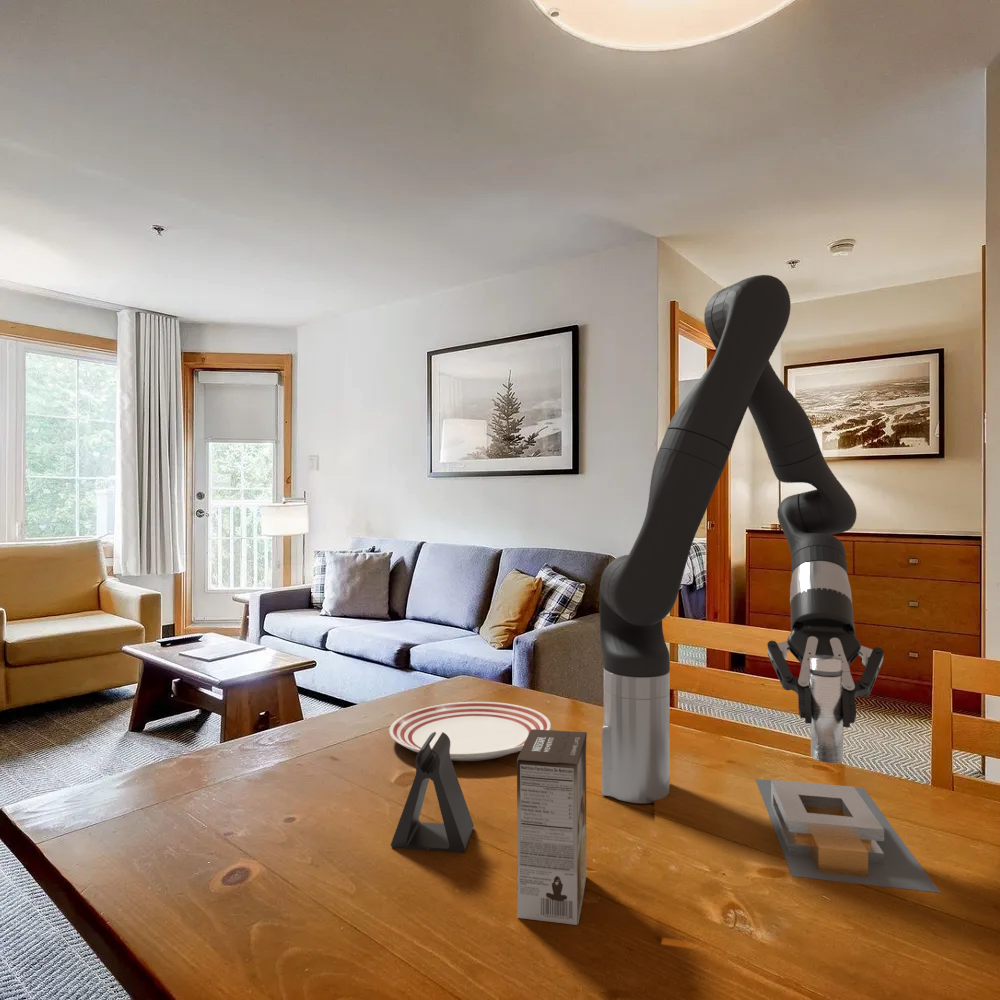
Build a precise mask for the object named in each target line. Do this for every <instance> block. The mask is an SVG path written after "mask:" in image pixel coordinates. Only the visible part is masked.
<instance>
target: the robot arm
mask: <svg viewBox="0 0 1000 1000" xmlns="http://www.w3.org/2000/svg"><path fill="white" fill-rule="evenodd" d="M791 304H792V303H791V297H790V293H789V290H788V288H787V286H786V285H785V284H784V283H783V281H782V280H781V279H780V278H778V277H775V276H773V275H769V274H760V275H755V276H750V277H747V278H744V279H742V280H739V281H738V282H736V283H734V284H731V285H729V286H727V287H725V288H722V289H720V290H719V291H717V292H715V294H714V295H712V296H711V297H710V299H709V300H708V301H707V304H706V307H705V309H704V314H703V317H704V318H703V319H704V326H705V329H706V333H707V334H708V336H709V339H710V340H711V343H712V344H713V347H714V349H715V354H714V356H713V358H712V359H711V362H710V363H709V365H708V367H707V369H706V370H705V372H704V373H703V375H702V376H701V377H700V379H699V380H698V381H697V383H696V384H695V385H694V387H692V389H691V390H690V392H689V393H688V394H687V395H686V397H685V398H684V400H683V401H682V403H681V404H680V405H679V406H678V407H677V410H676V411H675V413H674V415H672V418H671V420H670V422H669V424H668V426H667V429H666V431H665V434H664V436H663V439H662V441H661V443H660V446H659V449H658V451H657V454H656V457H655V460H654V463H653V468H652V473H651V478H650V485H649V494H648V496H649V497H648V501H647V509H646V513H645V516H644V517H645V518H644V520H643V523H642V526H641V528H640V531H639V532H638V534H637V537H636V540H635V541H634V543H633V546H632V548H631V550H630V552H629V554H624V555H620V556H618V557H616V558H615V559H613V560H612V561H611V562H609V564H607V566H606V567H605V569H604V571H603V572H602V575H601V578H600V583H599V636H600V638H599V639H600V645H601V646H600V647H601V651H602V656H603V722H602V728H601V737H602V738H601V753H602V754H601V777H602V778H601V795H602V796H607V797H611V798H614V799H616V800H618V801H622V802H627V803H631V804H653V803H655V801H658V800H662V799H664V798H665V797H667V796H668V795H669V794H670V783H671V780H670V779H671V777H670V775H671V774H670V755H671V754H670V749H671V747H670V744H671V743H670V731H671V730H670V724H671V723H670V719H671V718H670V712H671V710H670V707H671V705H670V703H671V702H670V696H671V695H670V688H671V687H670V680H671V679H670V674H671V673H670V672H671V671H670V669H671V668H670V665H671V664H670V662H671V661H670V660H671V658H670V652H669V649H668V646H667V644H666V641H665V636H664V630H663V620H664V619H665V618H666V617H667V616H668V615H669V614H670V613H671V611H672V609H673V608H674V605H675V604H676V601H677V598H678V595H679V591H680V589H681V584H682V580H683V577H684V573H685V570H686V566H687V562H688V558H689V556H690V552H691V549H692V545H693V543H694V539H695V537H696V534H697V531H698V530H699V527H700V525H701V523H702V521H703V519H704V517H705V514H706V511H707V509H708V507H709V504H710V502H711V500H712V497H713V495H714V491H715V489H716V487H717V486H718V482H719V481H720V478H721V476H722V474H723V471H724V469H725V467H726V464H727V461H728V459H729V456H730V453H731V452H732V448H733V447H734V442H735V440H736V436H737V434H738V432H739V429H740V427H741V424H742V422H743V419H744V417H745V414H746V412H747V410H749V412H750V415H751V417H752V419H753V420H754V423H755V425H756V427H757V430H758V433H759V435H760V438H761V441H762V443H763V446H764V449H765V452H766V454H767V455H766V456H767V458H768V460H769V463H770V465H771V468H772V471H773V473H774V475H775V476H774V477H776V479H777V480H778V481H779V482H781V483H787V484H793V483H794V484H795V483H800V484H803V483H804V484H809V485H811V486H812V487H814V488H815V489H813V490H810V491H809V490H808V491H804V492H801V493H796V494H792V495H789V496H787V497H785V498H784V499H783V500H782V501H781V502H780V504H779V506H778V509H777V519H778V522H779V525H780V527H781V530H782V531H783V534H784V535H785V538H786V541H787V543H788V547H789V551H790V556H791V557H790V558H791V581H790V586H789V587H790V589H789V592H790V593H789V597H790V598H789V603H790V634H789V636H788V637H787V638H786V639H787V640H785V641H781V642H777V641H775V640H769V641H768V642H767V643H766V645H767V657H768V659H769V660H770V662H771V665H772V668H773V669H774V671H775V673H776V675H777V678H778V680H779V682H780V684H781V686H782V688H783V689H784V690H785V691H793V692H795V693H796V694H797V698H798V699H797V701H798V703H797V705H798V708H797V709H798V716H799V718H800V719H804V723H805V724H810V725H811V724H812V710H811V689H810V672H809V666H810V656H812V655H830V656H835V657H839V658H841V659H842V722H843V728H850V727H851V724H855V722H856V720H857V719H856V717H857V704H856V698H857V697H863V698H868V697H869V696H870V694H871V693H872V690H873V687H874V684H875V682H876V680H877V677H878V675H879V672H880V670H881V667H882V665H883V661H884V654H885V650H884V649H883V648H881V647H878V646H877V647H874V648H873V649H872V648H870V647H867V646H864V645H861V641H860V640H859V638H858V637H857V636H856V628H855V621H854V620H855V619H854V610H853V609H854V607H853V595H852V590H851V585H850V581H849V576H848V566H847V555H846V549H845V546H844V544H843V542H842V541H841V540H840V539H839V538H838V537H835V536H834V535H837V534H841V533H845V532H848V531H850V530H851V529H852V528H853V527H854V525H855V523H856V521H857V516H858V515H857V508H856V505H855V502H854V501H853V499H852V497H851V495H850V494H849V492H848V491H847V490H846V489H845V488H844V486H843V485H842V483H841V482H840V481H839V480H838V478H837V477H836V476H835V474H834V473H833V471H832V470H831V468H830V467H829V465H828V463H827V461H826V459H825V457H824V455H823V453H822V450H821V448H820V444H819V442H818V439H817V435H816V432H815V430H814V427H813V425H812V423H811V420H810V418H809V416H808V414H807V413H806V411H805V410H804V408H803V407H802V406H801V404H800V403H799V401H798V400H797V398H796V397H795V396H794V395H793V393H791V392H790V390H789V389H788V388H787V386H785V384H784V383H783V381H782V380H781V379H780V378H779V376H778V375H777V373H776V372H775V370H774V368H773V366H772V364H771V363H770V359H771V357H772V355H773V353H774V351H775V349H776V347H777V345H778V344H779V341H780V340H781V338H782V336H783V334H784V332H785V330H786V328H787V325H788V321H789V319H790V314H791V308H792V307H791ZM788 652H790V653H791V655H792V656H794V657H795V659H796V660H797V661H798V663H800V665H801V666H800V671H799V676H798V677H797V676H795V675H793V673H792V672H791V670H790V667H789V665H788V663H787V661H786V659H787V658H788ZM858 656H859V657H861V659H862V660H861V663H862V665H863V666H865V667H864V670H863V672H862V675H861V677H860V679H859V680H856V681H854V679H853V677H852V674H851V669H850V665H851V664H852V663H853V662H854V661H855V659H857V658H858Z"/></svg>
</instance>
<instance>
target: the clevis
mask: <svg viewBox="0 0 1000 1000" xmlns="http://www.w3.org/2000/svg"><path fill="white" fill-rule="evenodd" d="M770 780H771V811H772V814H773V816H774V819H775V821H776V824H777V826H778V829H779V832H780V834H781V837H782V839H783V842H784V844H785V847H786V849H787V852H788V855H792V856H802V857H811V858H812V859H813V861H814V863H815V865H816V867H817V870H818V872H825V873H834V874H843V875H852V876H862V877H868V864H877V865H884V853H883V851H882V850H881V848H880V847H879V845H878V844H877V842H876V841H875V840H877V841H884V829H883V827H882V826H881V825H880V823H879V822H878V820H877V819H876V817H875V816H874V815H873V813H872V812H871V810H870V809H869V808H868V806H867V805H866V803H865V802H864V800H863V799H862V798H861V796H860V795H859V793H858V792H857V791H856V789H855V788H854V786H851V785H850V786H849V785H836V784H828V783H827V784H826V783H814V782H802V781H801V782H800V781H792V780H791V781H790V780H779V779H770Z"/></svg>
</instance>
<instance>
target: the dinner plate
mask: <svg viewBox="0 0 1000 1000" xmlns="http://www.w3.org/2000/svg"><path fill="white" fill-rule="evenodd" d="M532 729H536V730H552V723H551V721H550V718H548V717H547V716H546V715H544V714H543V713H542V712H540V711H537V710H535V709H533V708H530V707H527V706H521V705H518V704H512V703H505V702H494V701H462V702H461V701H460V702H459V701H458V702H450V703H448V702H447V703H442V704H436V705H431V706H427V707H423V708H419V709H416V710H413V711H410V712H408V713H406V714H404V715H402V716H401V717H399V718H397V719H396V720H394V721H393V722H392V724H391V725H390V727H389V730H388V732H389V735H390V737H391V738H392V739H393V740H394V742H395V743H397V744H399V745H400V746H403V747H405V748H406V749H408V750H410V751H412V752H415V753H418V752H419V751H420V749H421V748H422V746H423V745H424V743H425V742H426V740H427V739H428V737H429V736H430V735H431V734H432V733H433V732H436V735H435V736H434V738H433V739H432V741H431V742H430V747H431V749H432V748H433V746H434V745H435V743H436V742H437V740H438V738H439V737H440V735H441V734H442V732H443V733H445V734H446V735H447V736H448V737H449V739H450V758H451V761H457V762H477V761H488V760H493V759H497V758H501V757H504V756H508V755H510V754H515V753H518V752H521V750H522V748H523V746H524V743H525V741H526V739H527V737H528V735H529V733H530V730H532Z"/></svg>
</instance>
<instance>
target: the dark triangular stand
mask: <svg viewBox="0 0 1000 1000" xmlns="http://www.w3.org/2000/svg"><path fill="white" fill-rule="evenodd" d="M435 735H436V732H433V733H432V734H431V735H430V736H429V737H428V739H427V740H426V742H425V743H424V745H423V746H422V748H421V749H420V751H419V752H417V754H416V755H415V759H414V760H415V776H414V779H413V781H412V785H411V787H410V790H409V793H408V796H407V798H406V802H405V803H404V807H403V810H402V813H401V815H400V817H399V820H398V824H397V827H396V829H395V832H394V834H393V836H392V837H393V838H392V841H391V844H390V846H391V848H392V849H399V850H400V849H403V850H415V851H427V850H428V851H430V852H431V851H432V852H440V853H441V852H442V853H455V854H457V853H458V854H463V853H465V851H466V849H467V846H468V843H469V840H470V837H471V835H472V832H473V829H474V827H475V825H474V821H473V819H472V816H471V813H470V810H469V807H468V804H467V802H466V799H465V796H464V794H463V790H462V788H461V785H460V782H459V779H458V776H457V773H456V770H455V767H454V765H453V760H451V758H450V739H449V737H448V736H447V735H446V734H445V733H443V732H442V734H441V735H440V737H439V738H438V740H437V742H436V743H435V745H434V746H433V748H432V749H431V747H430V742H431V741H432V739H433V738H434V736H435ZM430 780H431V781H432V783H433V786H434V790H435V794H436V798H437V802H438V805H439V810H440V814H441V817H442V822H443V823H439V822H424V821H423V822H422V821H420V820H419V819H420V815H421V812H422V808H423V804H424V801H425V796H426V792H427V789H428V785H429V781H430Z"/></svg>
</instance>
